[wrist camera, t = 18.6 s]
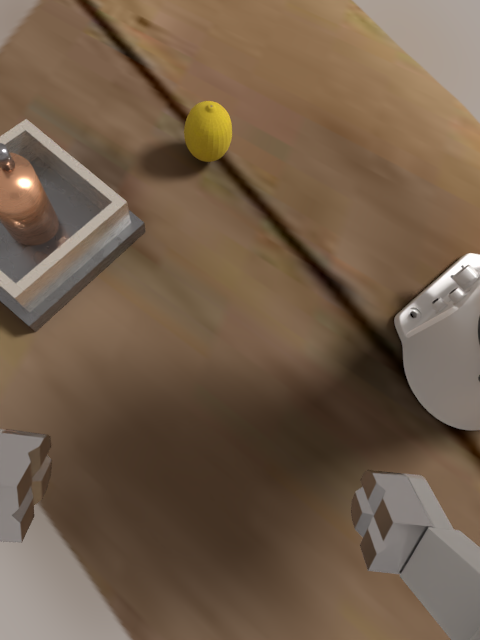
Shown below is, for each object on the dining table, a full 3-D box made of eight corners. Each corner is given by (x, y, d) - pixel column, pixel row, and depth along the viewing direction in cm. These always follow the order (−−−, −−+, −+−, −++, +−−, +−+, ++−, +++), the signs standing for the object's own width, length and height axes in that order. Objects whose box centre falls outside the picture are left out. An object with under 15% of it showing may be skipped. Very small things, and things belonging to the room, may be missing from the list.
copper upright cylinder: (51, 249, 42) (16, 191, 33) (1, 240, 42) (-49, 179, 32) (64, 208, 44) (33, 142, 34) (16, 199, 43) (-28, 130, 34)
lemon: (208, 182, 50) (214, 135, 42) (174, 155, 50) (174, 104, 43) (236, 157, 52) (246, 107, 44) (203, 131, 52) (208, 77, 45)
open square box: (44, 148, 48) (26, 108, 42) (145, 232, 47) (141, 202, 41) (-75, 234, 43) (-113, 201, 37) (35, 331, 41) (13, 313, 36)
